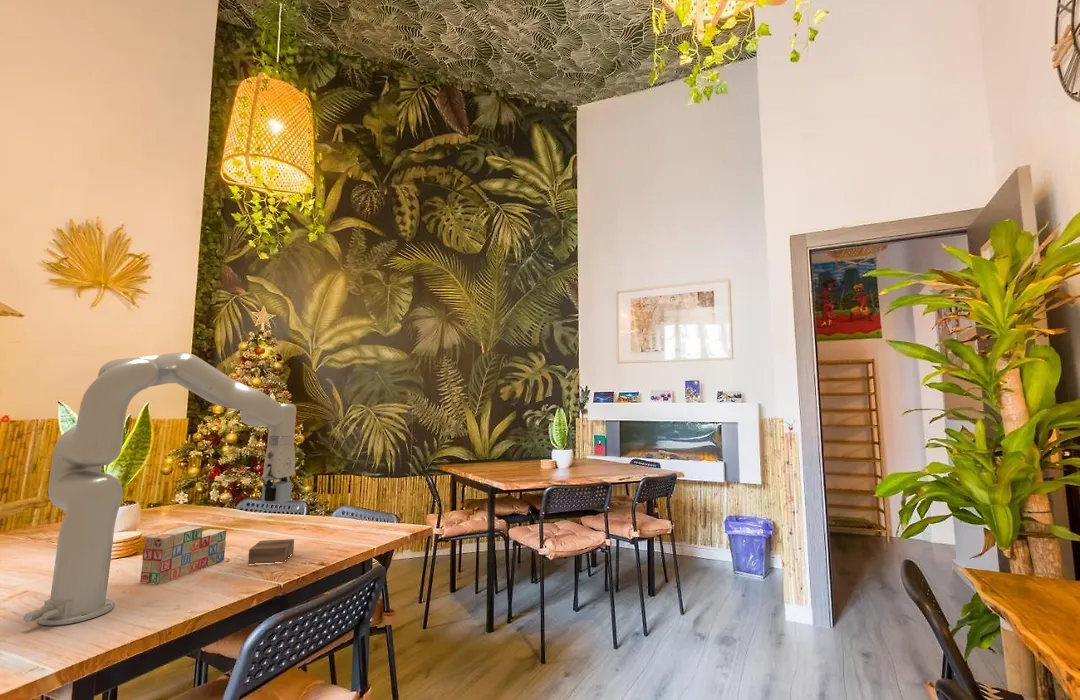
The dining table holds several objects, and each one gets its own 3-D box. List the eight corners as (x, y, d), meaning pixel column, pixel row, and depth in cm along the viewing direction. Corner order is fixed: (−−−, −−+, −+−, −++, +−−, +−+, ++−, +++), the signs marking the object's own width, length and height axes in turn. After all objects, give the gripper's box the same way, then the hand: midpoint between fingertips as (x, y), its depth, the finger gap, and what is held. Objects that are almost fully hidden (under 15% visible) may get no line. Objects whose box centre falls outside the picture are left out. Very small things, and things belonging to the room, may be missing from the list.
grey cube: (279, 504, 149) (280, 484, 150) (261, 503, 150) (262, 484, 150) (290, 500, 155) (292, 481, 156) (273, 500, 156) (274, 481, 156)
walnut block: (283, 564, 146) (285, 547, 147) (247, 566, 144) (249, 549, 145) (293, 555, 156) (294, 539, 157) (259, 556, 154) (260, 540, 154)
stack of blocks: (207, 559, 150) (211, 518, 151) (224, 560, 149) (228, 520, 150) (139, 583, 129) (144, 536, 131) (158, 585, 128) (163, 537, 129)
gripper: (275, 443, 146) (270, 504, 144) (306, 440, 163) (303, 494, 161) (251, 443, 147) (246, 503, 144) (286, 439, 164) (281, 493, 161)
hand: (276, 498), depth 153 cm, fingers closed on grey cube, 6 cm apart
